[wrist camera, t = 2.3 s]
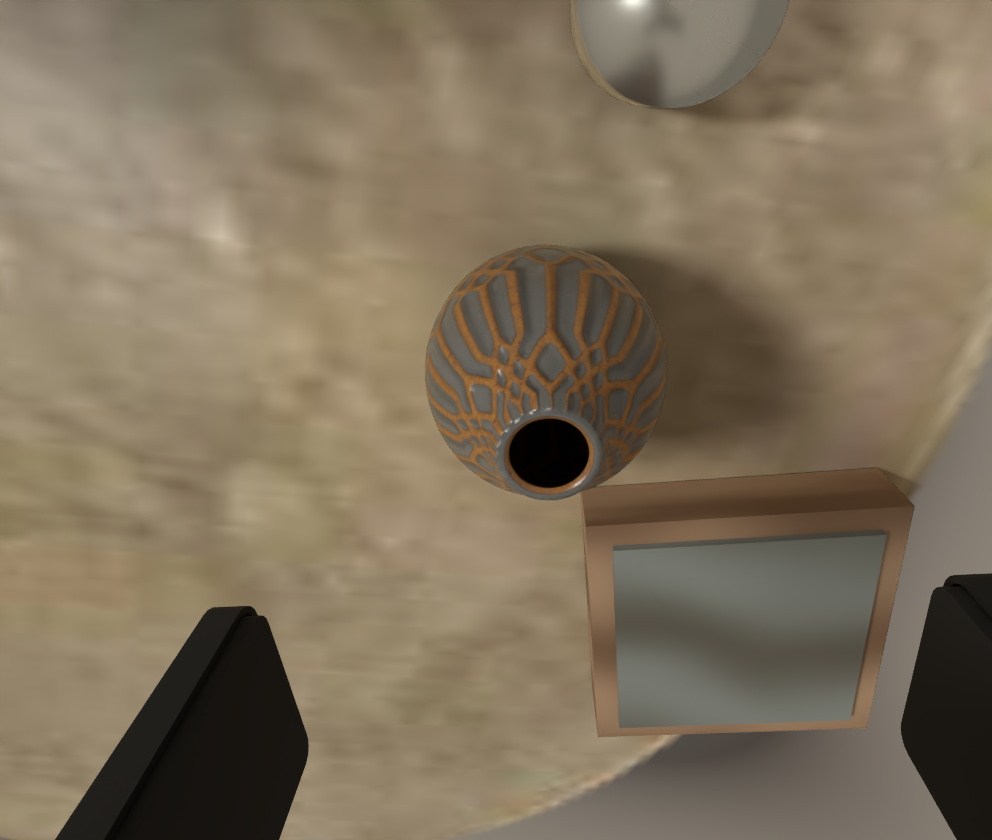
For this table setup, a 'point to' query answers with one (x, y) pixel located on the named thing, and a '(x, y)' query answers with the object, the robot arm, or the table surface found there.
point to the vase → (545, 371)
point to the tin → (672, 46)
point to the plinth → (741, 600)
